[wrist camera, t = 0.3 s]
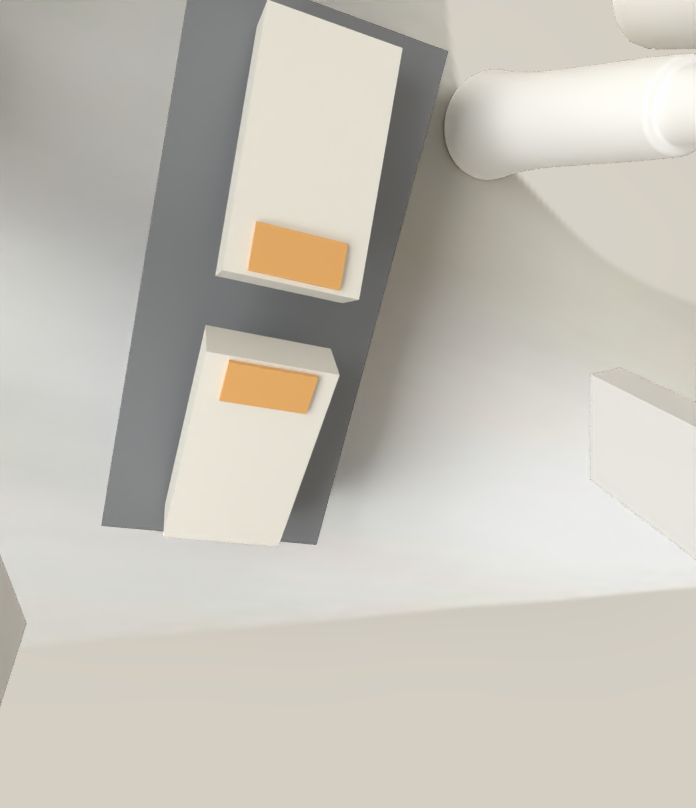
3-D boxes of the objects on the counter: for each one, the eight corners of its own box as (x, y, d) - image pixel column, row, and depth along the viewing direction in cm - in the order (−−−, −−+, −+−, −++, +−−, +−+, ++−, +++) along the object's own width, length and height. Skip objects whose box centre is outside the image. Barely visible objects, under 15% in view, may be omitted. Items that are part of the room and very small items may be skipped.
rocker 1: (215, 275, 29) (223, 269, 27) (256, 26, 29) (268, -4, 26) (342, 303, 31) (360, 299, 29) (382, 69, 31) (404, 45, 28)
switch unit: (109, 476, 40) (99, 538, 34) (188, -9, 33) (196, -51, 26) (304, 498, 45) (330, 557, 38) (414, 70, 37) (469, 50, 31)
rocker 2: (164, 504, 35) (163, 540, 33) (205, 324, 30) (206, 354, 28) (273, 515, 37) (278, 549, 35) (330, 348, 32) (340, 378, 30)
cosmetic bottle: (534, 63, 39) (931, -38, 19) (537, 171, 41) (894, 183, 21) (439, 76, 38) (754, -19, 18) (446, 186, 40) (734, 213, 20)
